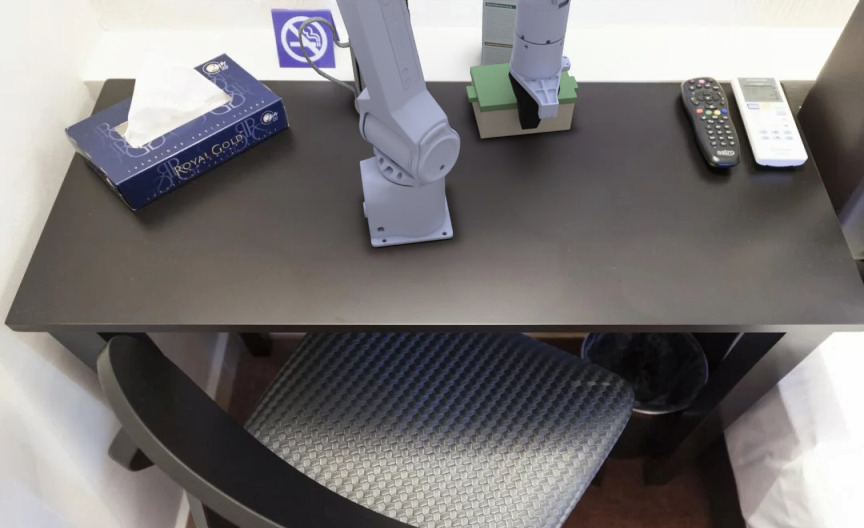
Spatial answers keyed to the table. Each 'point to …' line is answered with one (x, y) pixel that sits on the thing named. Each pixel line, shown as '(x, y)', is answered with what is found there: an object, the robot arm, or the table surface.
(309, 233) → the table surface
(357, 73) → the glass holder
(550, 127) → the lunchbox
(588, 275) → the table surface
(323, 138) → the table surface
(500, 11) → the syrup box
